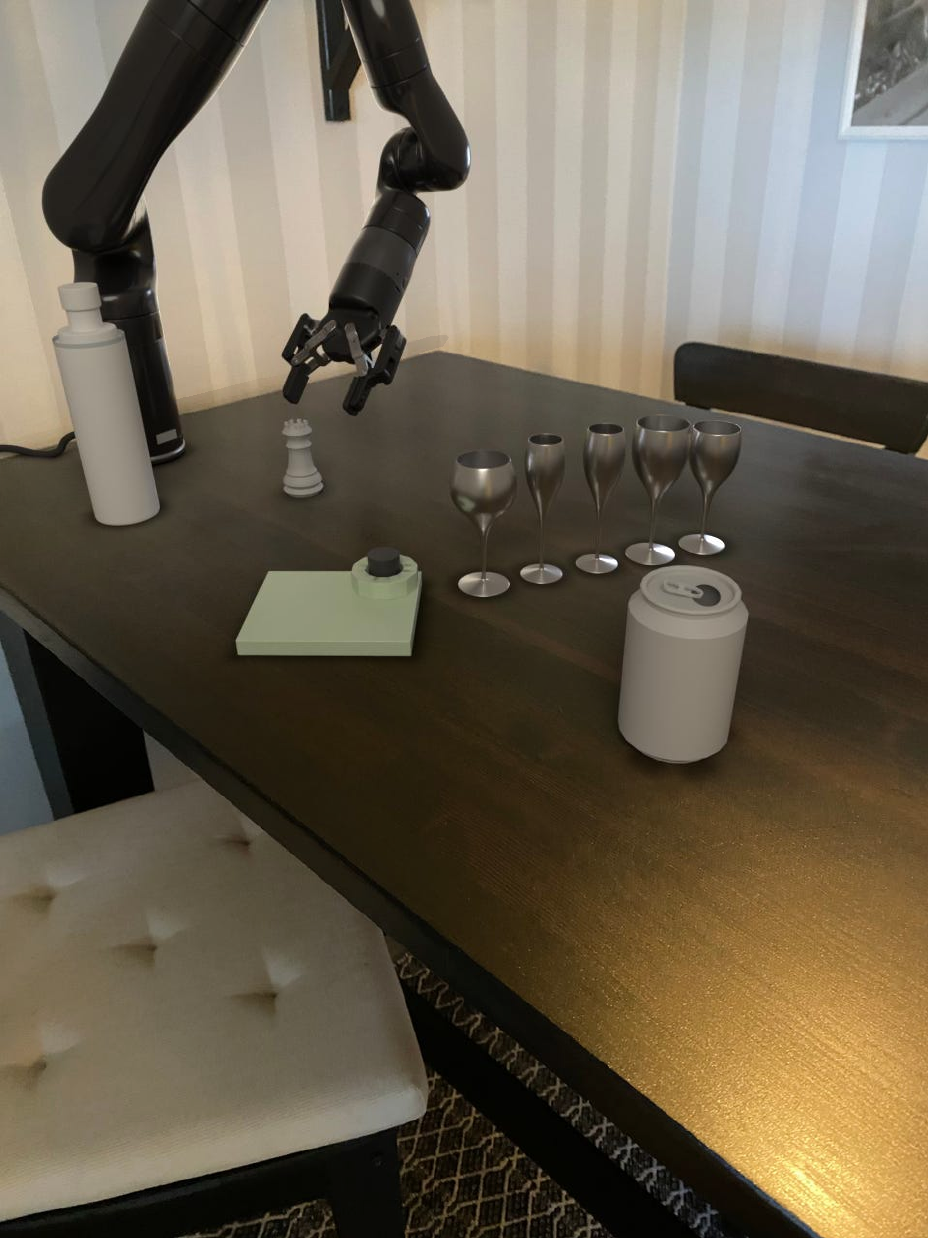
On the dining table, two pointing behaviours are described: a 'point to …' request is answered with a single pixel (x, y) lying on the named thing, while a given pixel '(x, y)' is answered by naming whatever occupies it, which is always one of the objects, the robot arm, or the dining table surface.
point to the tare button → (384, 562)
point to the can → (681, 663)
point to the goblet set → (596, 486)
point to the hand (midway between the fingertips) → (318, 406)
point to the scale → (334, 613)
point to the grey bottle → (104, 410)
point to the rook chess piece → (300, 462)
